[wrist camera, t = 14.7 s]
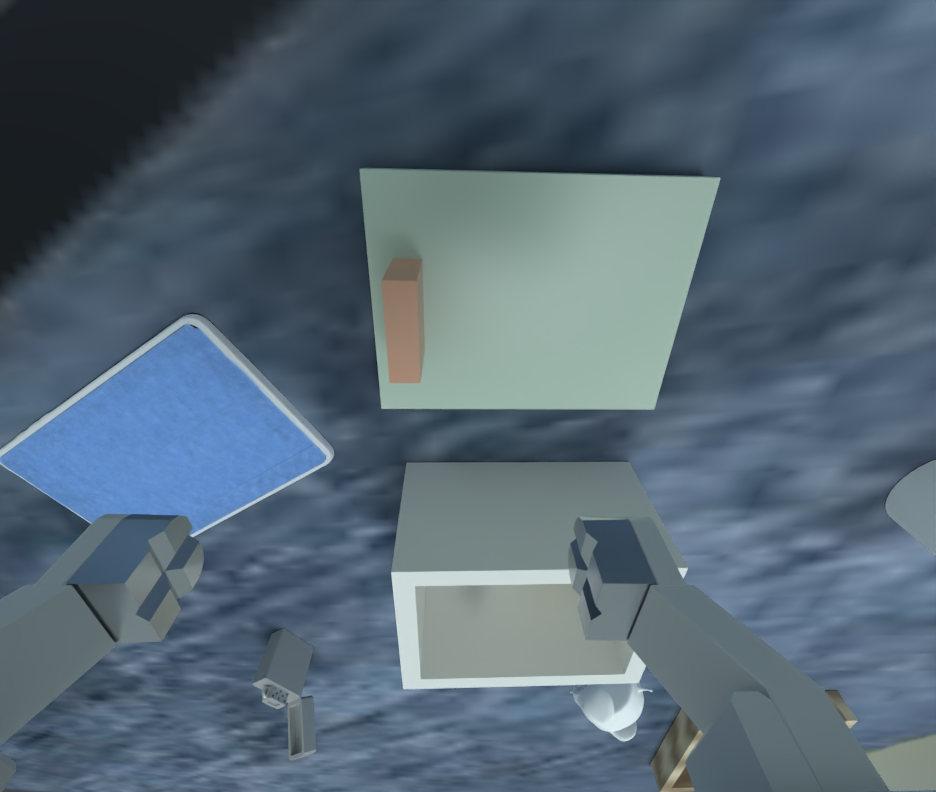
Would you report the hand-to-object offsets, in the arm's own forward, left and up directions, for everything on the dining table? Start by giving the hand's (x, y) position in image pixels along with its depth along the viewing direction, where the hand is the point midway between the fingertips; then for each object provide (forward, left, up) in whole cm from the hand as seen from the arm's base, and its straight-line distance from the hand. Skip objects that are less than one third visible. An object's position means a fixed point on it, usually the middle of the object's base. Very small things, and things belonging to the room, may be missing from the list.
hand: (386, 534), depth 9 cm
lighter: (+35, -13, -18) cm, 41 cm away
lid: (0, +6, -17) cm, 18 cm away
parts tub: (+18, +6, -17) cm, 26 cm away
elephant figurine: (+39, +17, -18) cm, 46 cm away
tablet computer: (+12, -18, -18) cm, 28 cm away
